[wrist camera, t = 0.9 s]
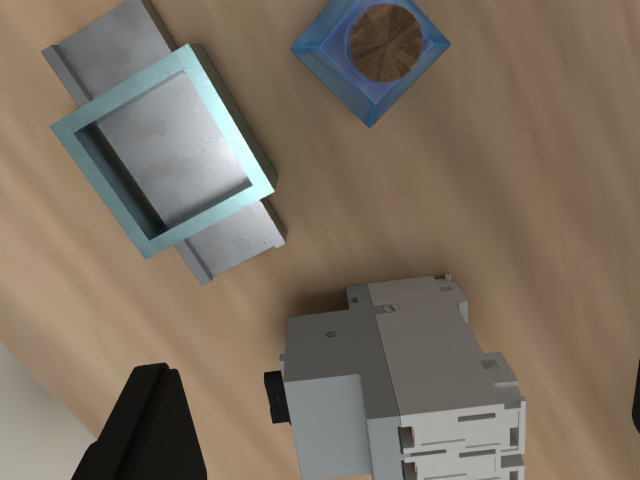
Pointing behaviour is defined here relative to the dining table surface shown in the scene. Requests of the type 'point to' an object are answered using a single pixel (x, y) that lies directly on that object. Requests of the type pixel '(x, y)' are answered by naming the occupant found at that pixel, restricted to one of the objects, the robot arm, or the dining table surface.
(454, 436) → the circuit breaker
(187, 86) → the pale teal rectangular frame
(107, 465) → the robot arm
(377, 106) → the perfume bottle
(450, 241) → the dining table surface
